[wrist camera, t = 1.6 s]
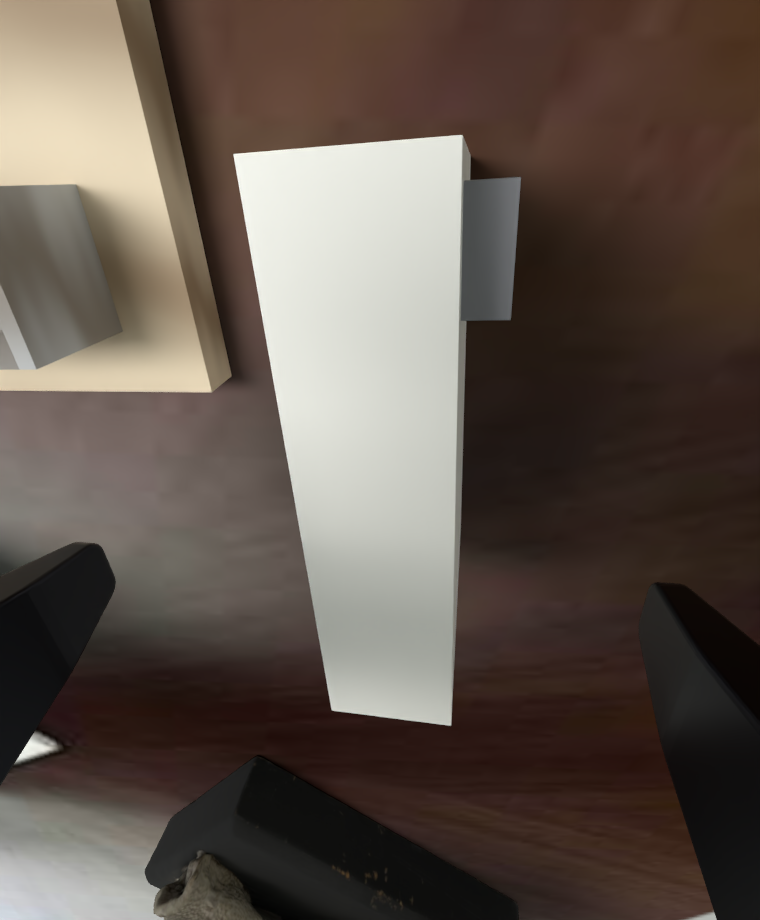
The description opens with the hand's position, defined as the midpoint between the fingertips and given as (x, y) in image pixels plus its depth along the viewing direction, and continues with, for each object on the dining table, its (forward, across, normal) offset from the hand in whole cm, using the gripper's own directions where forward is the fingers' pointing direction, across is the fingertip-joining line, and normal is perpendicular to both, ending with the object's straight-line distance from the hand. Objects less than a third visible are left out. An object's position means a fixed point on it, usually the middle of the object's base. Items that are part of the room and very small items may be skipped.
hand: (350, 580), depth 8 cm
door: (+10, 0, 0) cm, 10 cm away
